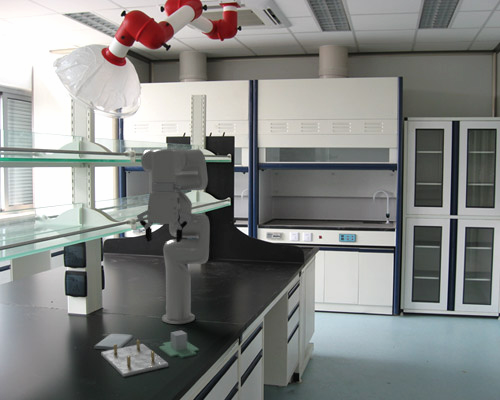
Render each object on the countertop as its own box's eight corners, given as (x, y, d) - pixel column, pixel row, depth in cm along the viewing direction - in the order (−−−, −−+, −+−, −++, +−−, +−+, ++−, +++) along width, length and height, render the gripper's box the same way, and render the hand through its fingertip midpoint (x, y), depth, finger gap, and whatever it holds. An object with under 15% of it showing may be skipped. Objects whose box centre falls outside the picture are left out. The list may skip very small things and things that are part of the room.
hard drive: (117, 347, 171) (132, 334, 183) (94, 345, 172) (110, 332, 185) (117, 352, 171) (132, 339, 183) (94, 350, 173) (110, 337, 185)
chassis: (101, 355, 167) (101, 342, 167) (142, 346, 175) (142, 334, 174) (123, 376, 150) (123, 363, 150) (168, 366, 158) (168, 353, 158)
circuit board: (156, 346, 175) (156, 329, 175) (183, 340, 181) (182, 324, 180) (174, 359, 164) (174, 342, 163) (202, 353, 169) (202, 336, 169)
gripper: (192, 188, 170) (192, 240, 171) (140, 187, 172) (141, 239, 173) (187, 189, 163) (188, 243, 164) (133, 188, 164) (134, 242, 165)
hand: (163, 241), depth 168 cm, fingers open, 9 cm apart
